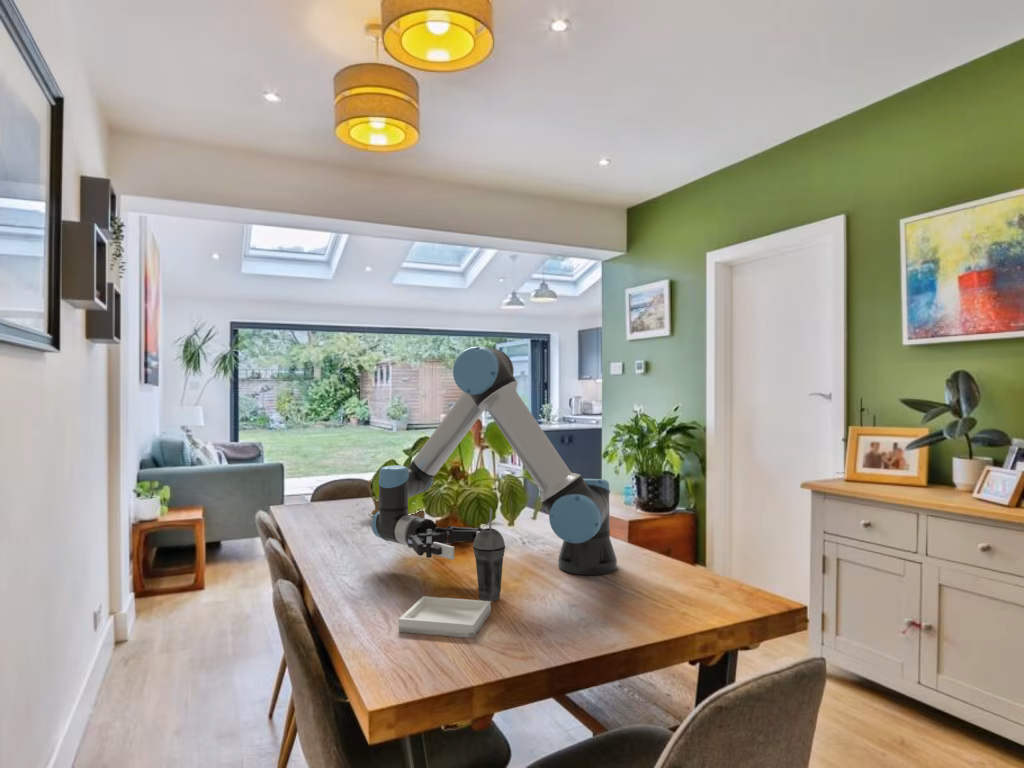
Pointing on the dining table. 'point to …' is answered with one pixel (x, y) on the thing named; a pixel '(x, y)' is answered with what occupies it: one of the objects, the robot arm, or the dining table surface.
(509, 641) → the dining table surface
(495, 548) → the beverage cup
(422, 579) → the dining table surface
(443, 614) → the tray
